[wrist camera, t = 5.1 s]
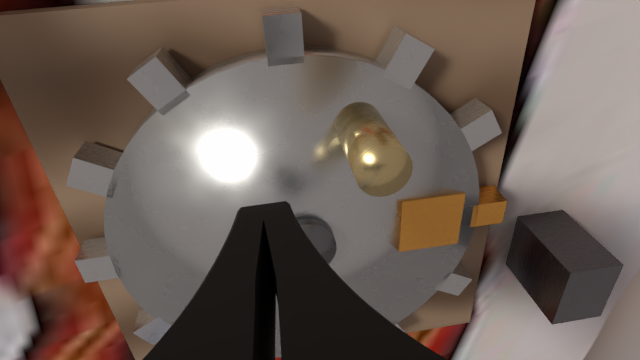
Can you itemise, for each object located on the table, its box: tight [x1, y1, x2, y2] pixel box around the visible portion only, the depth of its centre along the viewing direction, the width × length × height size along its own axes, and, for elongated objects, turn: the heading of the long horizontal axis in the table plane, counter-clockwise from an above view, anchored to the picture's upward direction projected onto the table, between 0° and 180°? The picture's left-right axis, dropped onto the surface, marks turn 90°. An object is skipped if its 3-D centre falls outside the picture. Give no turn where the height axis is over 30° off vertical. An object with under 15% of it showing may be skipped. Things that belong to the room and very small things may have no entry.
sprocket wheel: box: [66, 6, 507, 357], centre depth 19 cm, size 21×21×6 cm
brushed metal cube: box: [506, 210, 623, 324], centre depth 25 cm, size 4×3×5 cm
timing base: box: [0, 0, 536, 360], centre depth 22 cm, size 22×22×1 cm
